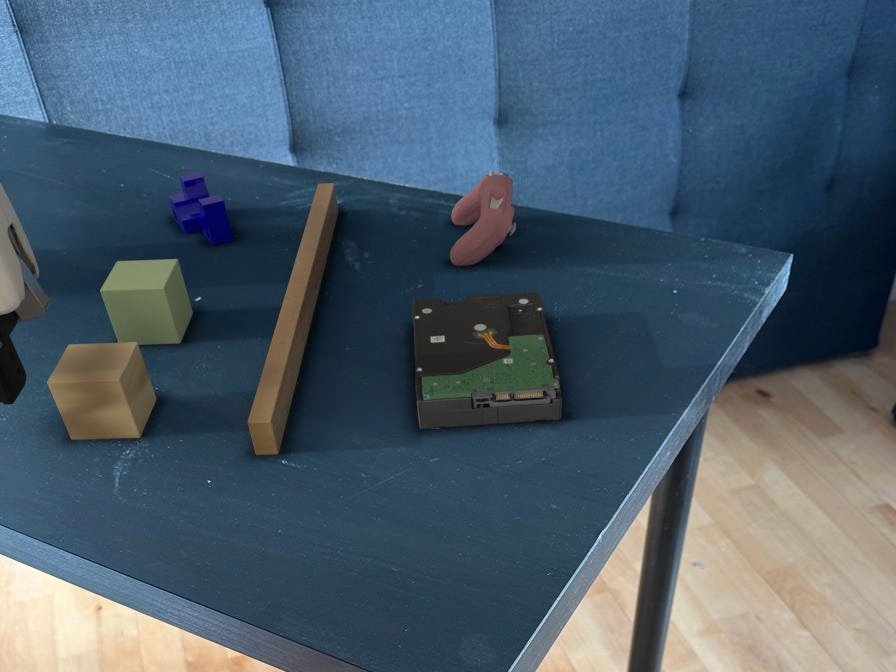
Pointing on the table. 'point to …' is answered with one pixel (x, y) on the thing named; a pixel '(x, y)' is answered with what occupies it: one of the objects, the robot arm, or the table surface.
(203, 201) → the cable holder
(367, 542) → the table surface
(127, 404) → the maple block
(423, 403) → the disk drive
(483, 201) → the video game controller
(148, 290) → the sage block
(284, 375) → the rail
